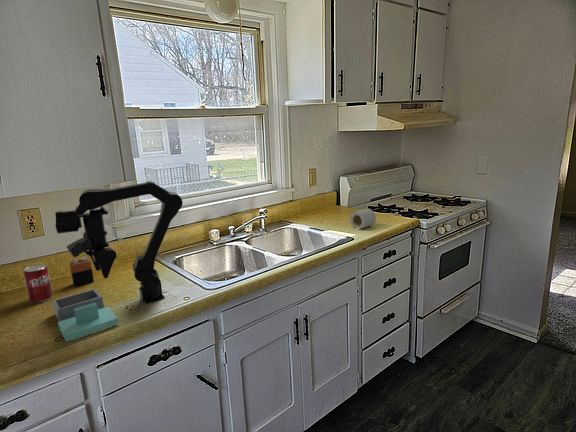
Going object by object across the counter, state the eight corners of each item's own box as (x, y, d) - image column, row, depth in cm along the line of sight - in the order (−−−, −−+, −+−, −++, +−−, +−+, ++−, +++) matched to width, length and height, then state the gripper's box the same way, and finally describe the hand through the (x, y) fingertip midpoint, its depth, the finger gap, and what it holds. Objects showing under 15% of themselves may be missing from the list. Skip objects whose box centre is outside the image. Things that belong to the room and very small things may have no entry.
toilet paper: (364, 231, 207) (364, 213, 205) (349, 227, 214) (350, 210, 212) (375, 227, 214) (375, 209, 211) (361, 224, 221) (361, 207, 218)
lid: (108, 313, 126) (105, 293, 124) (118, 324, 118) (115, 304, 117) (59, 328, 117) (55, 308, 116) (66, 342, 109) (61, 321, 108)
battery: (94, 282, 152) (90, 258, 149) (75, 287, 148) (70, 262, 145) (91, 279, 155) (87, 255, 153) (73, 283, 151) (68, 259, 149)
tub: (97, 301, 134) (95, 288, 133) (104, 310, 128) (102, 296, 127) (54, 314, 126) (52, 300, 125) (60, 324, 120) (57, 309, 119)
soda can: (25, 300, 137) (18, 269, 135) (47, 293, 143) (41, 262, 140) (35, 305, 133) (28, 273, 131) (57, 297, 139) (50, 266, 136)
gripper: (60, 228, 126) (68, 273, 129) (73, 240, 112) (82, 290, 115) (97, 222, 132) (104, 264, 136) (113, 232, 118) (120, 279, 122)
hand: (102, 274), depth 127 cm, fingers open, 9 cm apart
